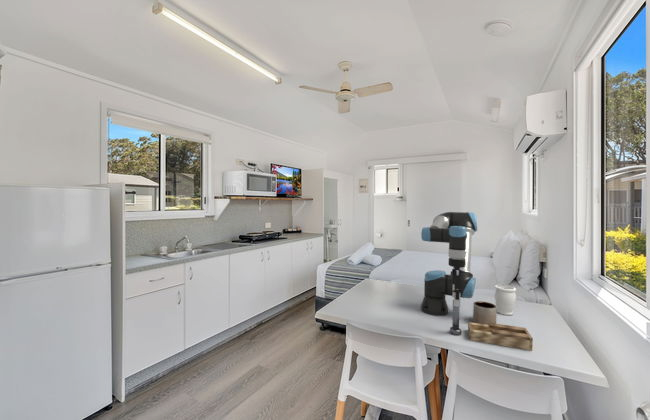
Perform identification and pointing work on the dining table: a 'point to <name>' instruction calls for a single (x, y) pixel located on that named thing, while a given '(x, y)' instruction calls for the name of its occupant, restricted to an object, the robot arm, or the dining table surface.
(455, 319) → the metal hex bolt
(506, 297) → the jar
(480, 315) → the planter
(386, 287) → the dining table surface
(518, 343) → the rail
